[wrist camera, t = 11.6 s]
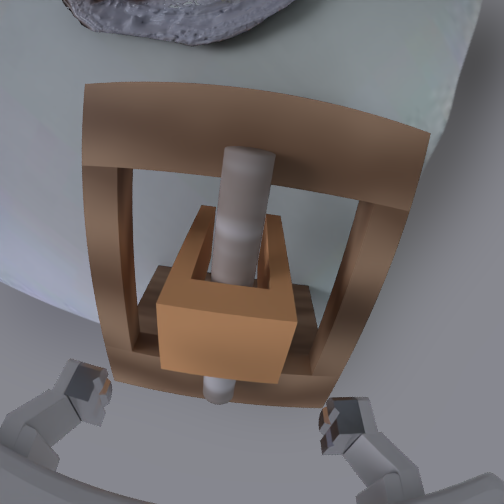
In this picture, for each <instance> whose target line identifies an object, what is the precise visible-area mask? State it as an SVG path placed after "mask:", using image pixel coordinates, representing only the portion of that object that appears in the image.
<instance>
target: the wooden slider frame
mask: <svg viewBox="0 0 504 504" xmlns="http://www.w3.org/2000/svg"><path fill="white" fill-rule="evenodd" d="M430 134H431V133H428V132H425V131H422V130H420V129H417V128H414V127H411V126H408V125H405V124H402V123H399V122H396V121H393V120H390V119H387V118H383V117H380V116H377V115H373V114H370V113H366V112H363V111H359V110H355V109H351V108H348V107H344V106H340V105H335V104H331V103H327V102H322V101H318V100H313V99H308V98H303V97H298V96H293V95H287V94H281V93H275V92H269V91H262V90H255V89H248V88H240V87H231V86H221V85H210V84H196V83H177V82H112V83H94V84H85V91H84V104H83V124H82V181H83V201H84V216H85V227H86V237H87V246H88V254H89V262H90V269H91V276H92V282H93V288H94V294H95V300H96V305H97V310H98V315H99V320H100V325H101V329H102V334H103V338H104V342H105V346H106V350H107V355H108V358H109V362H110V366H111V370H112V373H113V377H114V380H115V381H119V382H123V383H127V384H131V385H136V386H140V387H144V388H149V389H153V390H158V391H163V392H169V393H174V394H179V395H185V396H191V397H197V398H204V399H207V401H209V402H210V403H213V404H217V405H218V404H219V405H221V404H225V403H228V402H235V403H244V404H254V405H266V406H267V405H268V406H281V407H301V408H322V407H323V406H324V404H325V402H326V400H327V399H328V397H329V395H330V393H331V392H332V390H333V388H334V386H335V384H336V382H337V381H338V379H339V377H340V375H341V373H342V371H343V369H344V367H345V365H346V364H347V362H348V360H349V358H350V355H351V354H352V351H353V350H354V348H355V346H356V344H357V341H358V339H359V337H360V335H361V333H362V331H363V329H364V327H365V324H366V322H367V320H368V318H369V316H370V313H371V311H372V309H373V307H374V304H375V302H376V300H377V297H378V295H379V293H380V290H381V288H382V285H383V283H384V281H385V278H386V276H387V273H388V270H389V268H390V265H391V263H392V260H393V257H394V255H395V252H396V249H397V247H398V244H399V241H400V238H401V235H402V232H403V230H404V226H405V224H406V221H407V217H408V214H409V211H410V208H411V205H412V202H413V198H414V195H415V192H416V188H417V185H418V181H419V178H420V174H421V171H422V167H423V163H424V159H425V155H426V151H427V147H428V143H429V138H430ZM133 169H145V170H156V171H167V172H177V173H187V174H196V175H204V176H213V177H221V182H220V191H219V200H218V209H217V219H216V228H215V238H214V248H213V259H212V270H211V273H207V274H206V278H205V281H209V282H217V283H224V284H231V285H239V286H246V287H254V288H257V279H254V277H255V272H256V266H257V261H258V255H259V249H260V243H261V238H262V232H263V226H264V221H265V215H266V209H267V203H268V198H269V192H270V186H271V185H277V186H284V187H290V188H296V189H302V190H307V191H313V192H319V193H324V194H330V195H335V196H340V197H345V198H350V199H355V200H359V203H358V207H357V211H356V214H355V218H354V221H353V225H352V228H351V232H350V235H349V239H348V242H347V245H346V249H345V252H344V255H343V258H342V261H341V265H340V268H339V271H338V274H337V277H336V280H335V283H334V286H333V289H332V292H331V295H330V298H329V301H328V304H327V306H326V309H325V312H324V315H323V318H322V320H321V323H320V326H319V329H318V328H317V323H316V318H315V313H314V309H313V304H312V300H311V295H310V291H309V286H305V285H297V284H292V289H293V295H294V302H295V308H296V315H297V326H296V329H295V332H294V335H293V338H292V342H291V345H290V348H289V351H288V354H287V357H286V360H285V363H284V366H283V369H282V372H281V375H280V378H279V381H278V384H272V383H260V382H249V381H240V380H231V379H223V378H215V377H208V376H201V375H195V374H188V373H182V372H176V371H171V370H165V369H161V363H160V352H159V340H158V327H157V310H156V302H157V300H158V298H159V296H160V293H161V291H162V289H163V286H164V284H165V282H166V280H167V277H168V275H169V273H170V271H171V269H172V267H166V266H158V267H157V269H156V271H155V273H154V275H153V277H152V279H151V281H150V283H149V285H148V286H147V288H146V290H145V292H144V294H143V296H142V298H141V300H140V302H139V304H138V306H137V295H136V282H135V268H134V249H133V217H132V181H133Z"/></svg>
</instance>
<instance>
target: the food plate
mask: <svg viewBox="0 0 504 504" xmlns="http://www.w3.org/2000/svg"><path fill="white" fill-rule="evenodd" d="M62 1H63V3H64V5H65V6H66V7H69V10H70V11H71V12H72V14H73V16H74V17H76V18H77V19H78V20H79V21H80V23H81V25H83V26H84V27H86V28H88V29H90V30H92V31H95V32H96V31H99V33H100V32H105V33H116V34H124V35H132V36H138V37H148V38H153V39H158V40H165V41H171V40H174V41H176V43H178V42H181V43H180V44H183V43H186V44H184V45H187V46H197V45H204V44H209V43H212V42H218V41H222V40H224V39H225V40H226V39H229V38H232V37H235V36H237V35H239V34H241V33H243V32H246V31H248V30H250V29H251V28H252V27H254V26H257V25H258V24H259V23H262V22H263V20H265V19H266V18H267V17H269V16H271V15H273V14H275V13H276V12H277V11H280V10H281V9H282V8H283V9H284V8H287V6H288V5H289V4H291V3H292V2H293V1H294V0H197V1H196V2H197V3H198V4H200V5H196V3H195V2H194V0H186V1H185V0H173V1H172V0H166V1H165V0H62ZM188 1H190V2H191V1H192V4H187V5H183V4H184V3H186V2H188ZM148 3H149V4H148ZM175 3H179V4H175ZM147 4H148V5H147ZM164 4H165V5H164ZM170 5H174V7H176V6H180V7H179V8H170V7H169V6H170ZM164 8H165V9H164ZM67 9H68V8H67ZM171 42H172V41H171Z"/></svg>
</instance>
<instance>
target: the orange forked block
mask: <svg viewBox="0 0 504 504" xmlns="http://www.w3.org/2000/svg"><path fill="white" fill-rule="evenodd" d="M215 211H216V207H212V206H204V205H201V208H200V210H199V212H198V214H197V216H196V218H195V220H194V222H193V224H192V226H191V228H190V230H189V232H188V234H187V236H186V238H185V241H184V243H183V245H182V247H181V249H180V251H179V253H178V255H177V258H176V260H175V262H174V264H173V266H172V269H171V271H170V273H169V275H168V277H167V280H166V282H165V284H164V286H163V289H162V291H161V293H160V296H159V298H158V300H157V302H156V310H157V327H158V340H159V352H160V363H161V369H165V370H171V371H176V372H182V373H188V374H195V375H201V376H208V377H215V378H223V379H231V380H240V381H249V382H260V383H272V384H278V381H279V378H280V375H281V372H282V369H283V366H284V363H285V360H286V357H287V354H288V351H289V348H290V345H291V342H292V338H293V335H294V332H295V329H296V326H297V315H296V308H295V302H294V295H293V289H292V282H291V276H290V270H289V263H288V257H287V251H286V245H285V239H284V233H283V228H282V222H281V216H278V215H271V214H266V218H265V224H264V229H263V235H262V241H261V247H260V252H259V258H258V269H257V288H254V287H246V286H239V285H231V284H224V283H217V282H209V281H205V278H206V274H207V270H208V266H209V263H210V259H211V252H212V241H213V231H214V220H215Z"/></svg>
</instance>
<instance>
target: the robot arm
mask: <svg viewBox="0 0 504 504" xmlns="http://www.w3.org/2000/svg"><path fill="white" fill-rule="evenodd" d="M107 376H108V372H107V369H105V368H101V367H98V366H94V365H91V364H87V363H83V362H81V361H77V360H74V359H69V360H68V361H67V362H66V364H65V366H64V368H63V370H62V372H61V374H60V375H59V377H58V379H57V381H56V383H55V385H54V387H53V389H52V390H50V389H48V390H47V391H45V392H43V393H42V394H40V395H38V396H37V397H35V398H33V399H32V400H30V401H28V402H27V403H25V404H23V405H22V406H20V407H18V408H17V409H15V410H13V411H12V412H10V413H8V414H7V415H6V418H5V419H4V421H3V424H2V425H1V428H0V504H155V503H150V502H146V501H142V500H138V499H134V498H130V497H126V496H123V495H119V494H116V493H112V492H109V491H106V490H103V489H100V488H97V487H94V486H91V485H88V484H86V483H83V482H80V481H78V480H75V479H72V478H69V477H67V476H65V475H62V474H60V473H58V472H56V469H57V466H58V463H59V460H60V458H59V456H58V455H57V454H56V453H55V452H54V450H53V449H52V448H51V447H52V446H53V445H54V444H55V443H57V442H58V441H59V440H60V439H62V438H63V437H64V436H65V435H66V434H68V433H69V432H70V431H71V430H72V429H74V428H75V427H76V426H77V425H78V424H80V423H81V421H84V422H86V423H90V424H93V425H97V426H101V424H102V422H103V419H104V416H105V410H104V407H105V406H106V405H108V404H109V402H110V399H111V395H112V384H111V381H110V380H108V378H107ZM326 405H327V407H325V408H323V409H322V411H321V413H320V416H319V431H320V432H321V433H322V434H323V435H324V436H323V437H322V439H321V440H320V442H321V450H322V455H341V454H343V457H344V458H345V459H346V461H347V462H348V463H349V464H350V466H351V467H352V468H353V470H354V471H355V472H356V474H357V475H358V476H359V478H360V479H361V480H362V481H363V483H364V484H365V485H366V486H367V488H366V489H365V490H364V491H362V492H360V493H359V494H358V495H357V496H356V502H357V504H504V481H502V480H501V479H500V478H499V477H497V476H496V475H494V474H493V473H490V472H489V473H488V472H487V473H484V474H482V475H479V476H477V477H474V478H472V479H469V480H467V481H464V482H462V483H459V484H456V485H454V486H451V487H448V488H445V489H442V490H439V491H435V492H432V493H429V494H426V495H425V494H424V489H423V485H422V481H421V477H420V473H419V469H418V467H417V466H416V465H415V464H414V463H413V462H412V461H411V460H410V459H409V458H408V457H407V456H406V455H405V454H403V452H401V451H400V450H399V449H398V448H397V447H396V446H395V445H394V444H393V443H392V442H391V441H390V440H389V439H388V438H387V437H386V436H385V435H384V434H383V433H382V432H378V429H377V426H376V422H375V418H374V414H373V411H372V407H371V404H370V400H369V398H368V397H343V398H342V397H337V398H329V399H328V400H327V402H326Z"/></svg>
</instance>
